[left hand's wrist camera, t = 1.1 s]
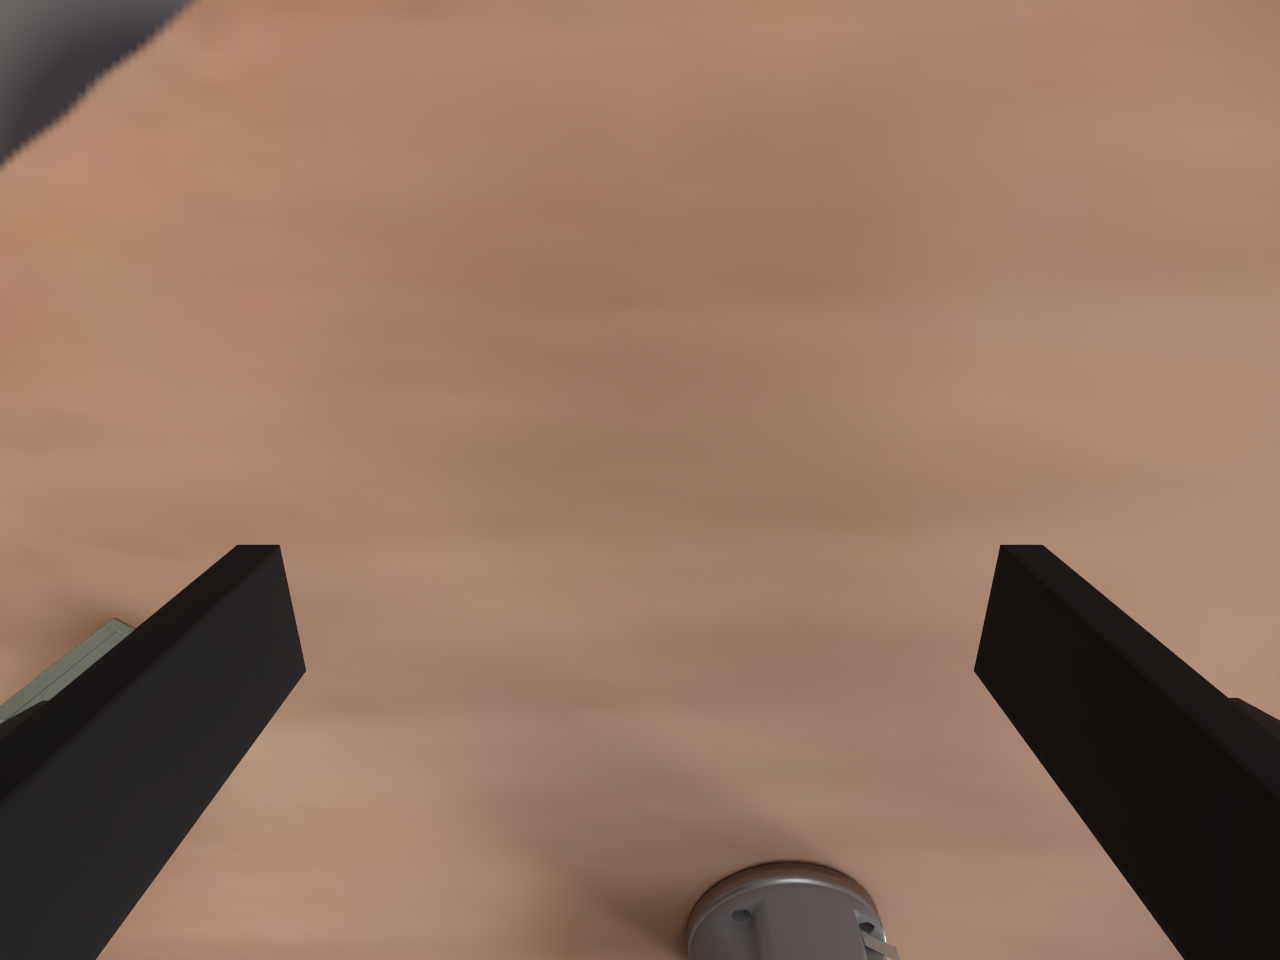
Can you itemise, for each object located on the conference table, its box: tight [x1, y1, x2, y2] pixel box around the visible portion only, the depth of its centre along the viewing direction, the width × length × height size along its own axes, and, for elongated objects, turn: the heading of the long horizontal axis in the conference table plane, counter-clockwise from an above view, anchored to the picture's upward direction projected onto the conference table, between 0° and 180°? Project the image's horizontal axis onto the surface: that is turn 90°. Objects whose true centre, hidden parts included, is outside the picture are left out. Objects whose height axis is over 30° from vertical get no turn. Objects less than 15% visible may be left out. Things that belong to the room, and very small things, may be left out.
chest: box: [0, 618, 135, 721], centre depth 43 cm, size 13×10×10 cm
